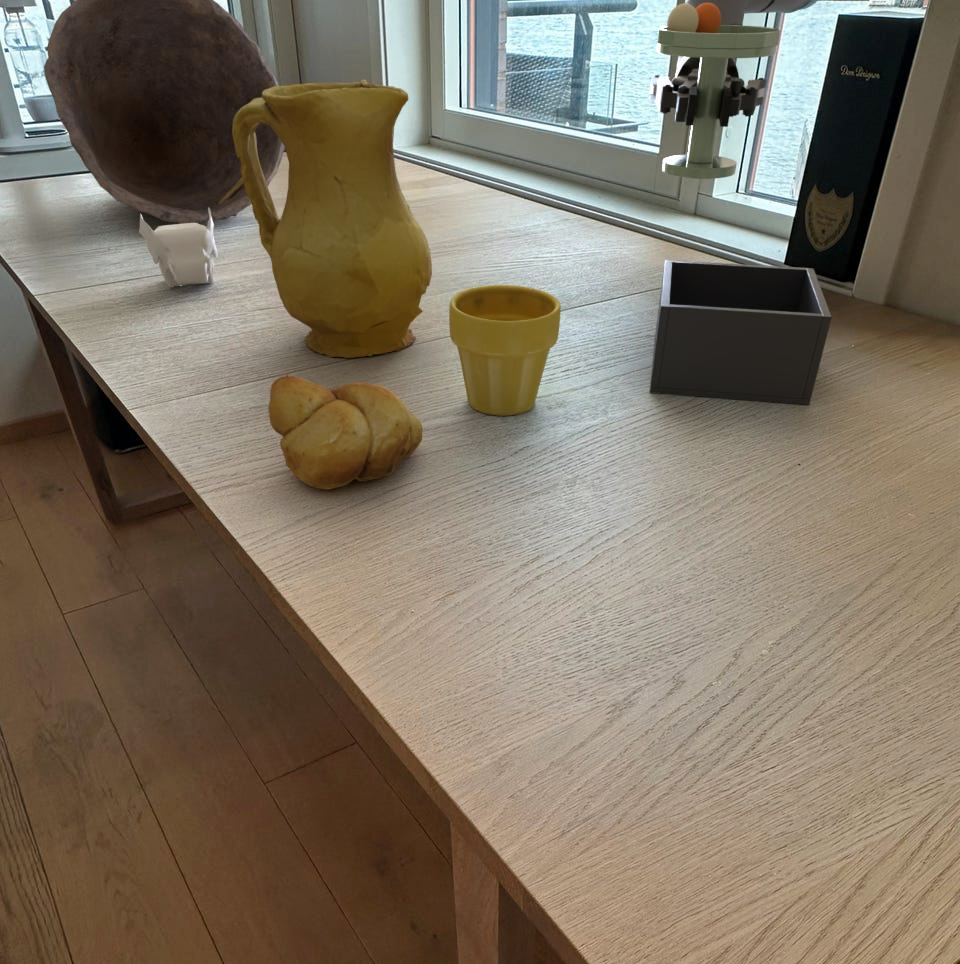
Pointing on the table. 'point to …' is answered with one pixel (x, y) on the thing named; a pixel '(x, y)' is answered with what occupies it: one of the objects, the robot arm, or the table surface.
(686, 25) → the ball
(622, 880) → the table surface
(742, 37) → the pedestal stand
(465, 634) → the table surface
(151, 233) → the white open carton
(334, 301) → the pitcher
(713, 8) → the ball
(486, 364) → the flower pot
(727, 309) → the bin
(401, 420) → the bread roll
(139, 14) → the bowl
